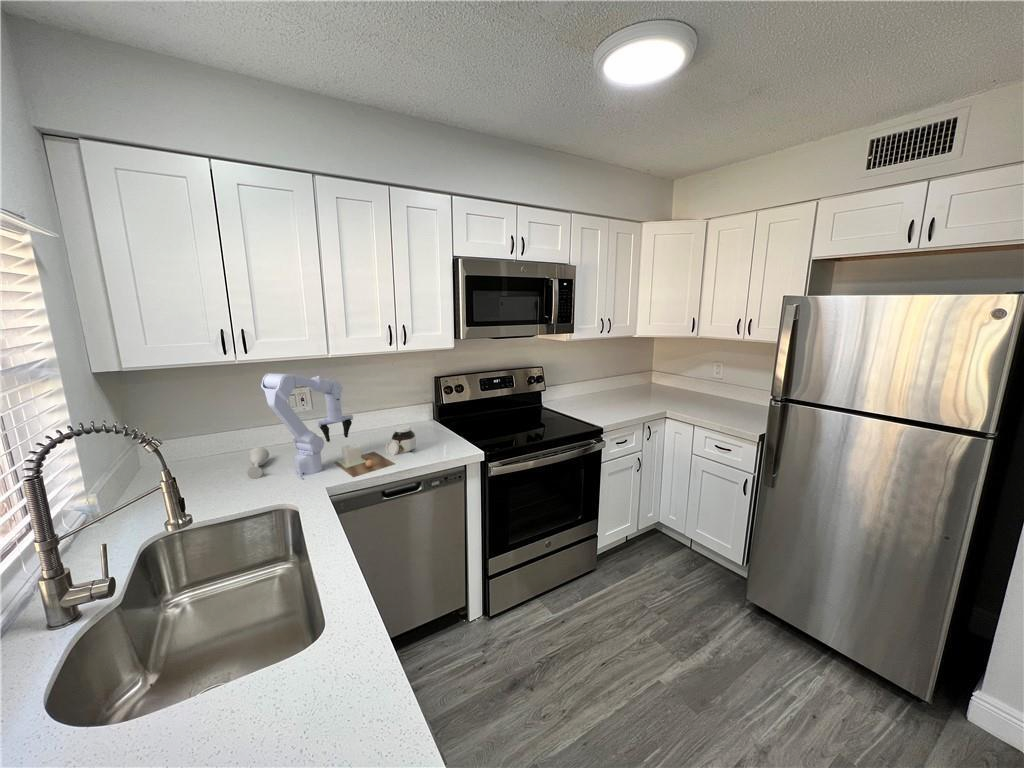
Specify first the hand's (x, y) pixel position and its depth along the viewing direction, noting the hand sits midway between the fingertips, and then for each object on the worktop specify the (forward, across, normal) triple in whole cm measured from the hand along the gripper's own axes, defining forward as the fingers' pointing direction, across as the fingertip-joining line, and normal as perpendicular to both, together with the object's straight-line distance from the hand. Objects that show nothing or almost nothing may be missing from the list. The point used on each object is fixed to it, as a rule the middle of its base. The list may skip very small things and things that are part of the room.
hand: (337, 439), depth 178 cm
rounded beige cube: (+8, +2, -9) cm, 12 cm away
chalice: (+7, -31, +4) cm, 32 cm away
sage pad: (+8, +2, -9) cm, 12 cm away
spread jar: (+10, +23, -12) cm, 28 cm away
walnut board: (+9, +5, -14) cm, 18 cm away
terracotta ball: (+7, +5, -19) cm, 21 cm away
